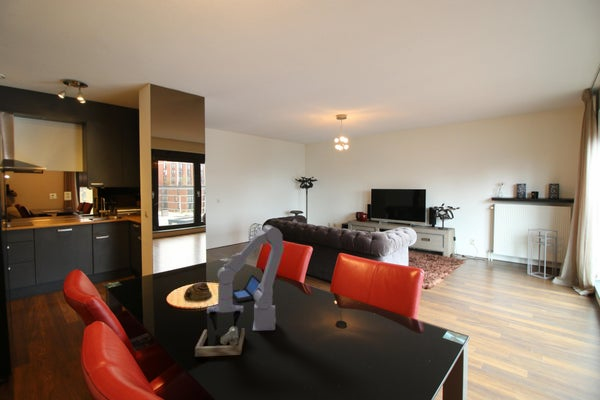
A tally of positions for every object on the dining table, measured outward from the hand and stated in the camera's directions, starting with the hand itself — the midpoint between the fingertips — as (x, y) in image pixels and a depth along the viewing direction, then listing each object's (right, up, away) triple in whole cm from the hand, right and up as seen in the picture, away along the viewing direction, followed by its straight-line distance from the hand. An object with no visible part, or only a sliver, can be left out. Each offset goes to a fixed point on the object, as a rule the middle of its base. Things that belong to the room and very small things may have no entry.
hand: (225, 328), depth 114 cm
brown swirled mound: (-26, 0, +39) cm, 46 cm away
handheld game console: (+1, 0, +40) cm, 40 cm away
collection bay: (+1, -2, -8) cm, 8 cm away
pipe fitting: (+3, -2, -5) cm, 7 cm away
